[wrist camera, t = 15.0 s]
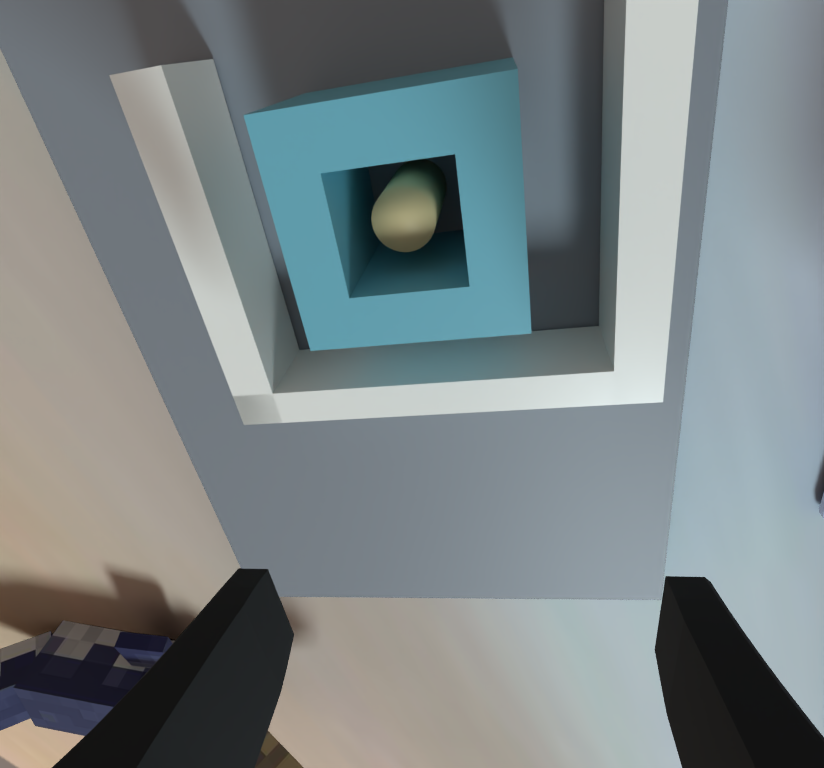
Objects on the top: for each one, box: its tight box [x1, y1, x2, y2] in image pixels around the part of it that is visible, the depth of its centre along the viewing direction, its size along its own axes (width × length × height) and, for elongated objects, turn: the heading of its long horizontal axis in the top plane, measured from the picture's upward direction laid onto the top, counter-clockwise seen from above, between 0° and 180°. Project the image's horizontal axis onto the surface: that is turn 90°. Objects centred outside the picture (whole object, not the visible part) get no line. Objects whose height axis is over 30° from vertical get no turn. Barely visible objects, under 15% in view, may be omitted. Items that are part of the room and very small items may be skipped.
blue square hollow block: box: [244, 57, 532, 351], centre depth 13 cm, size 5×5×4 cm
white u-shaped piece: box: [109, 0, 699, 425], centre depth 14 cm, size 11×9×2 cm
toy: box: [0, 621, 303, 768], centre depth 27 cm, size 10×22×10 cm, turn 86°
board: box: [0, 0, 728, 600], centre depth 15 cm, size 17×28×4 cm, turn 10°
